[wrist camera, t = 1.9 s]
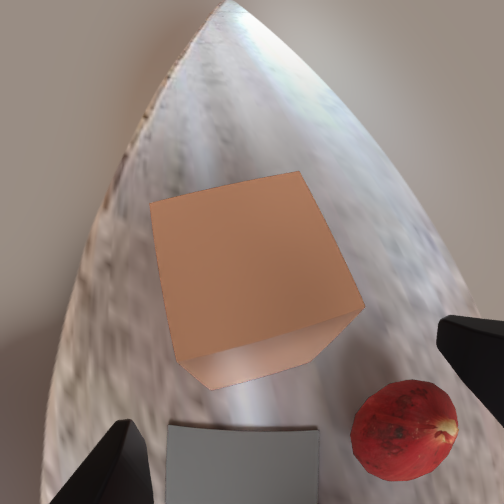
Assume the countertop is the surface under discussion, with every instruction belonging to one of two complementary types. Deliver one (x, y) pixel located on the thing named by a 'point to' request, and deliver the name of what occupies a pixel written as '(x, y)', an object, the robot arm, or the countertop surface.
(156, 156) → the countertop surface
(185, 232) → the tan rectangular block
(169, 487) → the mat
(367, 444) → the onion
